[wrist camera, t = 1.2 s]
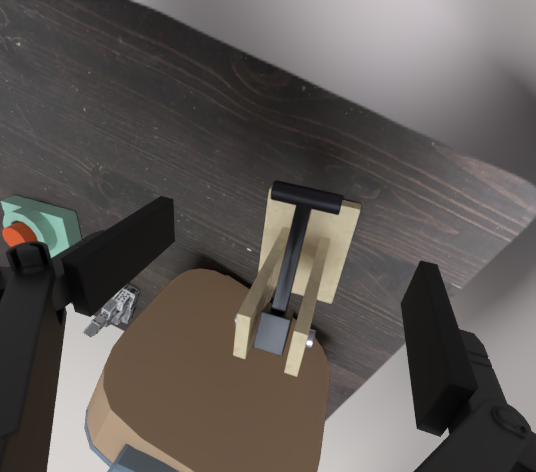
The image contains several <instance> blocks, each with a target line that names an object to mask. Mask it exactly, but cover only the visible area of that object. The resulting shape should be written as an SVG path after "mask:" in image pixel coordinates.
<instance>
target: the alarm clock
mask: <svg viewBox="0 0 536 472" xmlns="http://www.w3.org/2000/svg"><path fill="white" fill-rule="evenodd" d="M249 290H250V289H248V288H247V287H245V286H244V285H242V284H241V283H239V282H238V281H236V280H235V279H233V278H232V277H230V276H229V275H226V276H224V275H222V274H220V273H218V272H216V271H213V270H207V269H201V268H200V269H193V270H188V271H186V272H184V273H182V274H180V275H178V276H177V277H176V278H175V279H173V280H172V281H171V282H170V283H169V284H168V285H167V286H166V287H165V288H164V289H163V290H162V291H161V292H160V294H159V295H158V296H157V297H156V298H155V299H154V300H153V301H152V302H151V303H150V304H149V305H148V307H147V308H146V309H145V310H144V311H143V312H142V313H141V314H140V315H139V316H138V317H137V319H136V320H135V321H134V322H133V323H132V324H131V325H130V326H129V327H128V328H127V329H126V330H125V332H124V333H123V334H122V336H121V337H120V338H119V340H118V341H117V342H116V344H115V345H114V346H113V348H112V350H111V353H110V355H109V357H108V360H107V362H106V364H105V367H104V369H103V371H102V374H101V376H100V378H99V381H98V383H97V386H96V388H95V390H94V393H93V395H92V398H91V400H90V402H89V405H88V407H87V410H86V419H85V427H84V428H85V432H86V435H87V439H88V442H89V446H90V449H92V451H94V453H96V454H97V455H98V456H99V457H100V458H101V459H102V460H103V461H104V462H105V463H106V464H107V465H108V466H109V467H110V469H109V470H108V472H317V470H318V465H319V460H320V454H321V447H322V439H323V432H324V424H325V416H326V408H327V401H328V393H329V378H330V374H329V367H328V361H327V358H326V356H325V353H324V351H323V348H322V347H321V345H320V344H319V343H318V341H317V340H316V338H314V342H313V346H312V349H311V350H310V349H307V348H305V350H304V354H303V357H302V361H301V365H300V368H299V372H298V375H297V377H296V376H293V375H290V374H287V373H284V370H285V366H286V361H287V357H288V353H289V349H290V344H291V340H292V336H293V332H294V328H295V325H296V321H297V320H296V319H294V318H293V319H292V323H291V327H290V331H289V335H288V339H287V343H286V346H285V349H284V352H283V355H282V356H279V355H276V354H272V353H269V352H266V351H263V350H260V349H257V348H254V347H253V344H254V340H255V337H254V340H253V342H252V345H251V347H250V349H249V352H248V354H247V356H246V359H242V358H240V357H237V356H234V355H233V350H234V340H235V330H236V326H235V325H234V320H235V316H236V313H237V311H238V309H239V308H240V307H241V305H242V303H243V302H244V300H245V298H246V296H247V294H248V292H249ZM269 303H270V302H269ZM255 336H256V335H255Z"/></svg>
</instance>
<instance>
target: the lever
mask: <svg viewBox="0 0 536 472" xmlns="http://www.w3.org/2000/svg"><path fill="white" fill-rule="evenodd" d="M343 197H344V196H343V195H340V194H335V193H331V192H326V191H322V190H317V189H313V188H308V187H304V186H299V185H295V184H290V183H286V182H281V181H277V180H276V181H274V183H273V186H272V189H271V200H275V201H279V202H283V203H287V204H292V205H296V208H295V212H294V216H293V220H292V224H291V228H290V232H289V236H288V241H287V245H286V249H285V253H284V257H283V261H282V265H281V269H280V274H279V278H278V282H277V286H276V290H275V294H274V298H273V303H269V302H268V303H267V305H266V306H265V307H264V309H263V310H262V311H261V315H260V319H259V323H258V328H257V332H256V336H255V340H254V344H253V347H254V348H257V349H260V350H263V351H266V352H269V353H272V354H276V355H279V356H282V355H283V352H284V349H285V346H286V343H287V339H288V335H289V331H290V327H291V323H292V319H293V315H294V311H295V310H292V309H289V308H288V304H289V300H290V296H291V292H292V288H293V284H294V280H295V276H296V271H297V267H298V263H299V259H300V255H301V251H302V247H303V243H304V239H305V235H306V231H307V227H308V223H309V219H310V215H311V211H312V209H313V210H317V211H322V212H326V213H330V214H335V215H339V213H340V209H341V205H342V201H343Z"/></svg>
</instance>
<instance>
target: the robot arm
mask: <svg viewBox="0 0 536 472" xmlns="http://www.w3.org/2000/svg"><path fill="white" fill-rule="evenodd" d="M173 242H175V234H174V206H173V199H170V198H166V197H162V196H160V197H159V198H157V199H156V200H154V201H152V202H151V203H149V204H148V205H146V206H144V207H143V208H141V209H139V210H138V211H136V212H135V213H133V214H131V215H130V216H128V217H127V218H125V219H123V220H122V221H120V222H119V223H117V224H115V225H114V226H112V227H111V228H109V229H107V230H106V231H104V230H102V231H99V232H95V233H92V234H90V235H89V236H87V237H85V238H84V239H82V241H81V240H80V241H79V242H77V243H75V245H72V246H70V247H69V248H67V249H65V250H64V251H62V252H60V253H59V254H57V255H55V256H54V257H52V258H51V256H50V252H49V249H48V245H47V244H45V243H44V242H39V241H29V242H24V243H20V244H17V245H15V246H13V247H11V248H10V249H8V250H7V252H6V255H7V258H8V261H9V263H10V266H11V267H0V472H47V463H48V456H49V449H50V448H49V447H50V441H51V433H52V425H53V417H54V408H55V401H56V393H57V385H58V378H59V370H60V361H61V354H62V346H63V338H64V330H65V322H66V314H67V312H66V308H65V307H66V306H67V305H68V304H69V303H71V302H73V306H74V309H75V312H78V313H80V314H83V315H86V316H89V317H91V316H92V315H93V314H94V313H95V312H97V311H98V310H99V309H100V308H101V307H102V306H103V305H104V304H105V303H107V302H108V301H109V300H110V299H111V298H112V297H113V296H114V295H116V294H117V293H118V292H119V291H120V290H121V289H122V288H123V287H124V286H126V285H127V284H128V283H129V282H130V281H131V280H132V279H133V278H134V277H136V276H137V275H138V274H139V273H140V272H141V271H142V270H143V269H144V268H146V267H147V266H148V265H149V264H150V263H151V262H152V261H153V260H154V259H156V258H157V257H158V256H159V255H160V254H161V253H162V252H163V251H165V250H166V249H167V248H168V247H169V246H170V245H171V244H172V243H173ZM401 309H402V317H403V325H404V332H405V340H406V347H407V356H408V363H409V371H410V379H411V387H412V395H413V403H414V411H415V418H416V426H417V429H419V430H422V431H425V432H428V433H431V434H434V435H437V436H439V437H441V435H442V434H443V433H444V431H445V430H446V429H447V428H448V430H449V436H448V437H447V438H446V439H445V440H444V441H443V442H442V443H441V444H440V445H439V446H438V447H437V448H436V449H435V450H434V451H433V452H432V453H431V454H430V455H429V456H428V457H427V459H425V460H424V462H423V463H422V464H421V465H420V466H419V467H418V468H417V469H416V470H415V471H414V472H536V434H535V433H533V432H532V431H531V428H530V425H529V424H528V423H527V421H526V420H525V418H524V417H523V416H522V415H521V414H520V413H519V412H518V411H517V410H516V409H515V408H513V407H512V406H510V405H508V404H507V402H506V399H505V397H504V394H503V392H502V389H501V387H500V384H499V382H498V380H497V377H496V375H495V372H494V370H493V369H492V365H491V362H490V360H489V359H488V355H487V352H486V350H485V348H484V345H483V344H482V343H481V342H480V340H479V339H478V338H477V337H476V336H475V334H474V333H471V332H467V331H464V330H460V329H459V328H458V325H457V322H456V319H455V316H454V313H453V310H452V307H451V304H450V301H449V298H448V295H447V292H446V289H445V286H444V283H443V280H442V277H441V274H440V271H439V268H438V265H437V264H433V263H429V262H424V261H420V263H419V265H418V267H417V269H416V271H415V273H414V276H413V278H412V280H411V282H410V284H409V287H408V289H407V291H406V293H405V295H404V298H403V300H402V302H401Z"/></svg>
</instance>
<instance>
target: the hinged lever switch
mask: <svg viewBox="0 0 536 472" xmlns="http://www.w3.org/2000/svg"><path fill="white" fill-rule="evenodd" d="M272 186H273V185H272ZM271 189H272V187H271V188H270V189H269V195H268V203H267V210H266V218H265V225H264V233H263V240H262V248H261V255H260V263H259V270H258V275H257V277H256V279H255V281H254V283H253V285H252V287H251V288H250V290H249V292H248V294H247V296H246V298H245V300H244V302H243V303H242V305H241V307H240V308H239V309H238V311H237V313H236V316H235V320H234V325H235V326H236V330H235V340H234V350H233V355H234V356H237V357H240V358H242V359H246V356H247V354H248V352H249V349H250V347H251V345H252V342H253V340H254V337H255V335H256V332H257V328H258V323H259V319H260V315H261V311H262V310H263V309H264V307H265V306H266V305H267V303H268V302H270V300H271V297H272V295H273V293H274V290H275V288H276V286H277V282H278V278H279V274H280V269H281V265H282V261H283V257H284V253H285V249H286V245H287V241H288V236H289V232H290V228H291V224H292V220H293V216H294V212H295V208H296V205H292V204H287V203H283V202H279V201H275V200H271ZM360 210H361V204H359V203H354V202H350V201H345V200H343V201H342V205H341V209H340V213H339V215H335V214H330V213H326V212H322V211H317V210H313V209H312V211H311V215H310V219H309V223H308V227H307V231H306V235H305V239H304V243H303V247H302V251H301V255H300V259H299V263H298V267H297V271H296V276H295V280H294V284H293V288H292V293H295V294H299V295H302V296H304V297H303V300H302V304H301V307H300V311H299V314H298V318H297V321H296V325H295V328H294V332H293V336H292V340H291V344H290V349H289V353H288V357H287V361H286V366H285V370H284V373H287V374H290V375H293V376H296V377H297V375H298V372H299V368H300V365H301V361H302V357H303V354H304V350H305V348H307V349H310V350H311V349H312V346H313V342H314V338H315V333H316V331H315V330H312V329H310V327H311V322H312V318H313V313H314V309H315V305H316V300H320V301H323V302H327V303H330V304H332V301H333V298H334V295H335V292H336V288H337V285H338V282H339V279H340V275H341V272H342V269H343V266H344V262H345V259H346V256H347V253H348V249H349V246H350V243H351V240H352V236H353V233H354V230H355V227H356V223H357V220H358V217H359V214H360Z"/></svg>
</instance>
